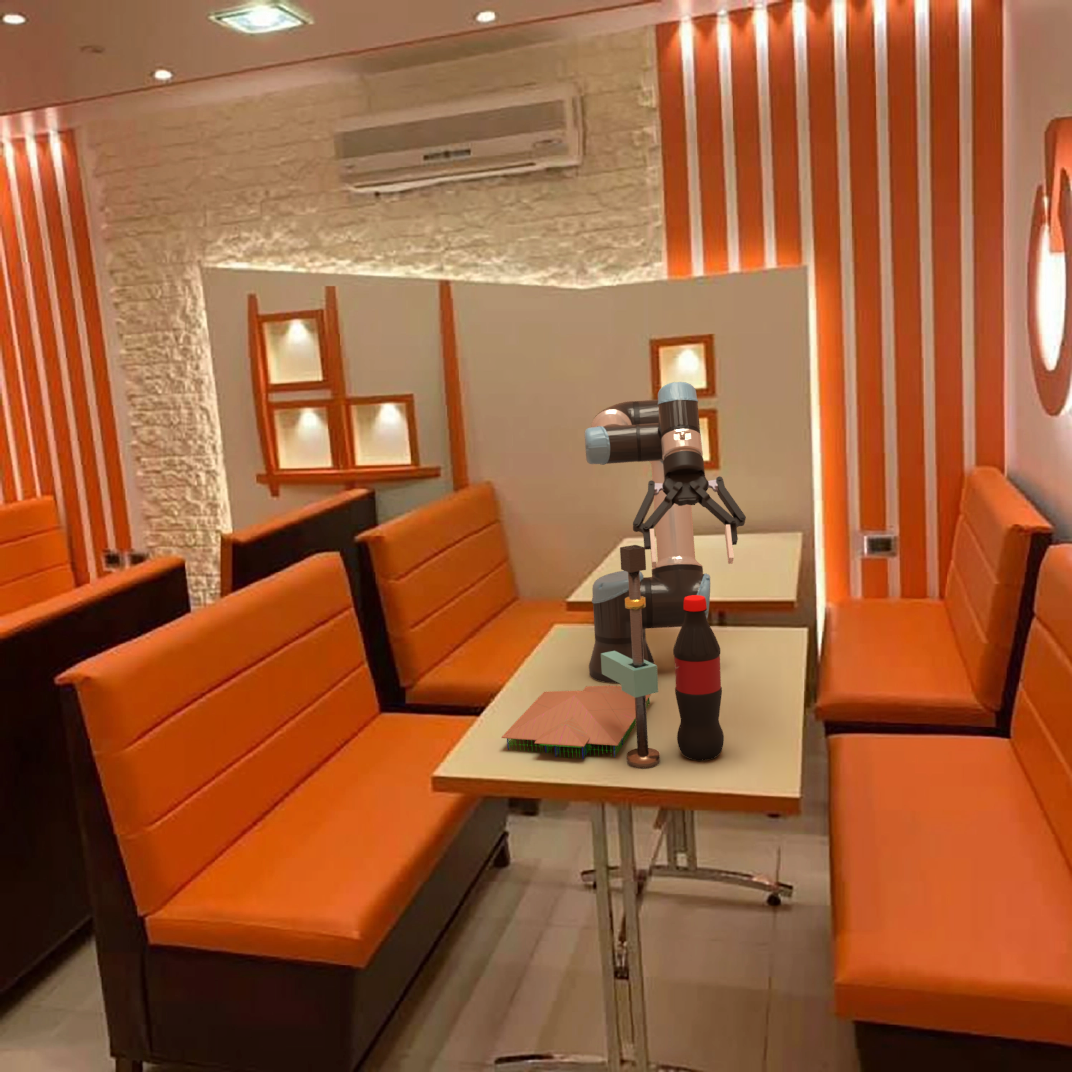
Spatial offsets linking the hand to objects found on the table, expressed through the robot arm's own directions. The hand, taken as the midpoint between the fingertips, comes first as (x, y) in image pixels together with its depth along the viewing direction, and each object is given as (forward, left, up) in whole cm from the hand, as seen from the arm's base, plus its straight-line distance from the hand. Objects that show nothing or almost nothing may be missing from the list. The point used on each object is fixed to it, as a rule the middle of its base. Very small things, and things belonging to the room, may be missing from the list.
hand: (692, 563), depth 186 cm
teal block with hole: (-7, -11, -22) cm, 26 cm away
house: (-24, -13, -37) cm, 45 cm away
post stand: (-2, -11, -36) cm, 38 cm away
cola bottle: (+1, 0, -36) cm, 36 cm away
